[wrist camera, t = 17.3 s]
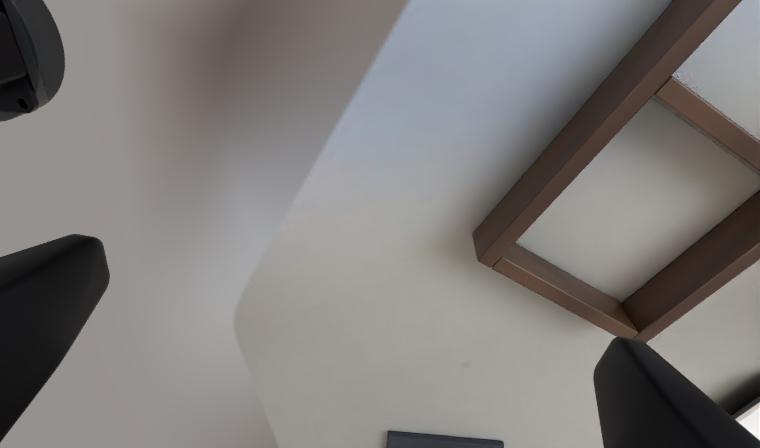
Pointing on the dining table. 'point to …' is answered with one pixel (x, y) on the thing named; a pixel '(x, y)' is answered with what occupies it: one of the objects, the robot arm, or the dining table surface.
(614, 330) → the frame
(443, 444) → the coaster
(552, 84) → the dining table surface
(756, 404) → the plate
